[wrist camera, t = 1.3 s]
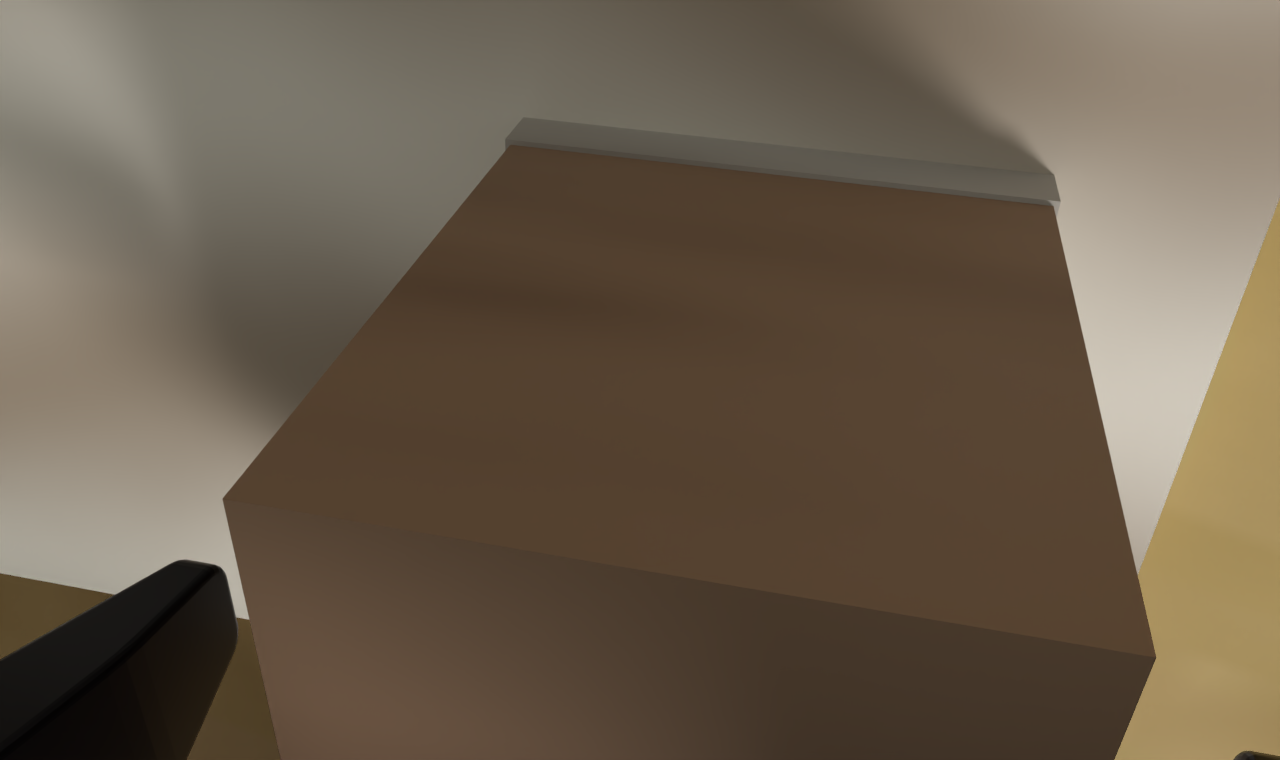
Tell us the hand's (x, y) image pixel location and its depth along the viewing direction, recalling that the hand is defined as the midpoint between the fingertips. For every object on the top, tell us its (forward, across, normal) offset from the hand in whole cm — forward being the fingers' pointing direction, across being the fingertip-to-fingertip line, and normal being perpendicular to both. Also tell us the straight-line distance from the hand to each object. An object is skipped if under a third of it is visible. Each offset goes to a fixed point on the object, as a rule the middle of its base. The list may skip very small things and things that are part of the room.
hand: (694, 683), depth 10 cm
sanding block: (+4, 0, 0) cm, 4 cm away
